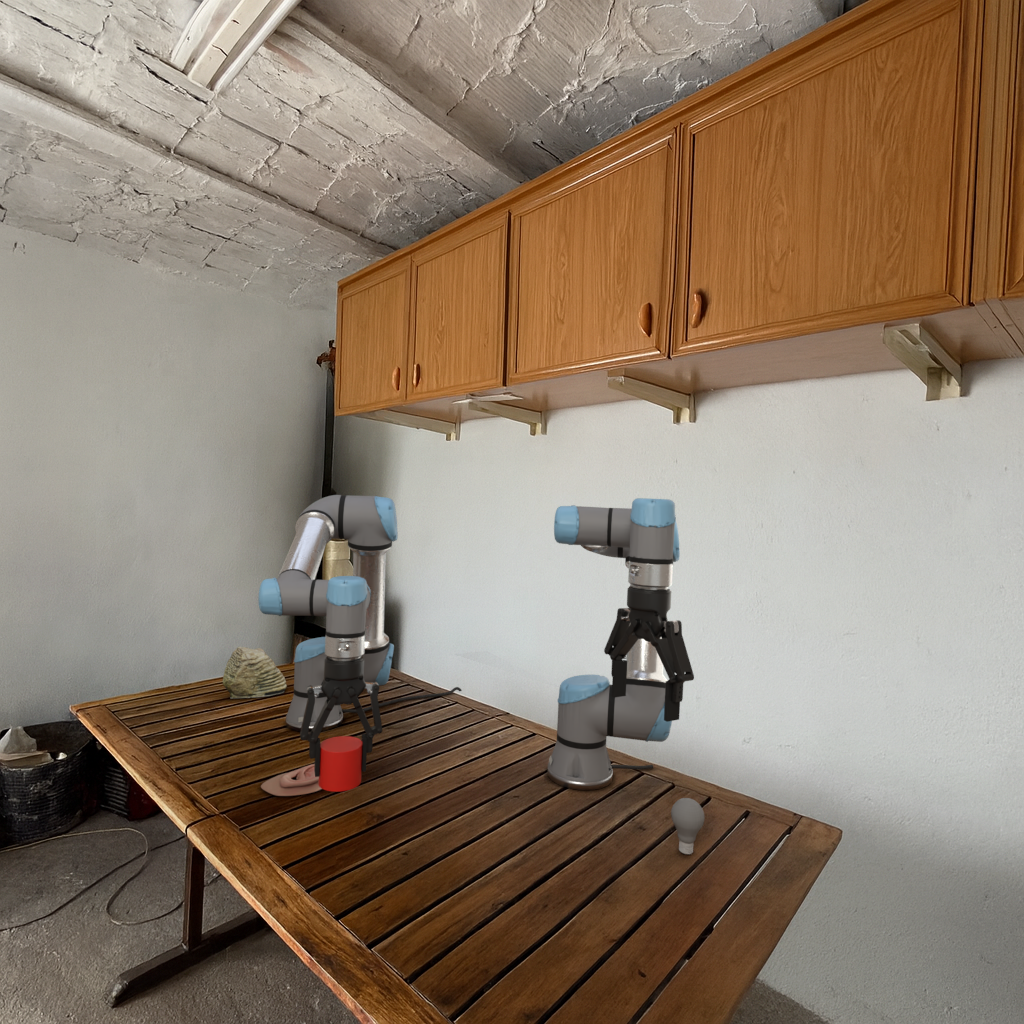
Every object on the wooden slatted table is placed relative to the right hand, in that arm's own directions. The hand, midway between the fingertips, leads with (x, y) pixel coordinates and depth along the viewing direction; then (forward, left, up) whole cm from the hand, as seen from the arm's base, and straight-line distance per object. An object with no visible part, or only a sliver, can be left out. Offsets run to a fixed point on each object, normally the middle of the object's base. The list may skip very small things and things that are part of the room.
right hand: (643, 707), depth 111 cm
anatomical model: (+46, -58, -29) cm, 80 cm away
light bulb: (-12, 0, -29) cm, 32 cm away
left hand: (+42, -39, -19) cm, 61 cm away
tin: (+42, -39, -22) cm, 61 cm away
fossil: (+46, -126, -29) cm, 137 cm away
